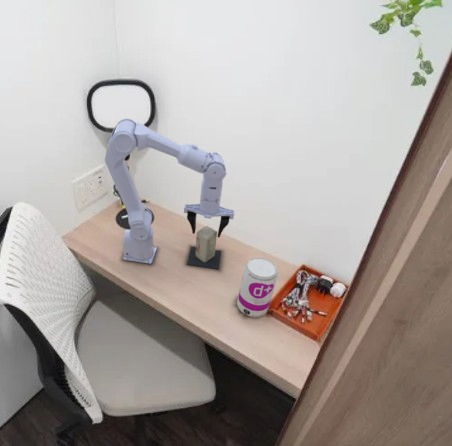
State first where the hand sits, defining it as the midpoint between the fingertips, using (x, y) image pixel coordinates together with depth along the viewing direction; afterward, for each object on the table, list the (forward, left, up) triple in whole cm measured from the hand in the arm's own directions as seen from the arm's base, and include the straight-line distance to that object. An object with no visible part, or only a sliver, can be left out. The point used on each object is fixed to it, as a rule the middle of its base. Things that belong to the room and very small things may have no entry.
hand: (206, 233), depth 104 cm
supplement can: (+15, -18, -10) cm, 25 cm away
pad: (0, -1, -9) cm, 9 cm away
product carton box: (0, 0, -9) cm, 9 cm away
